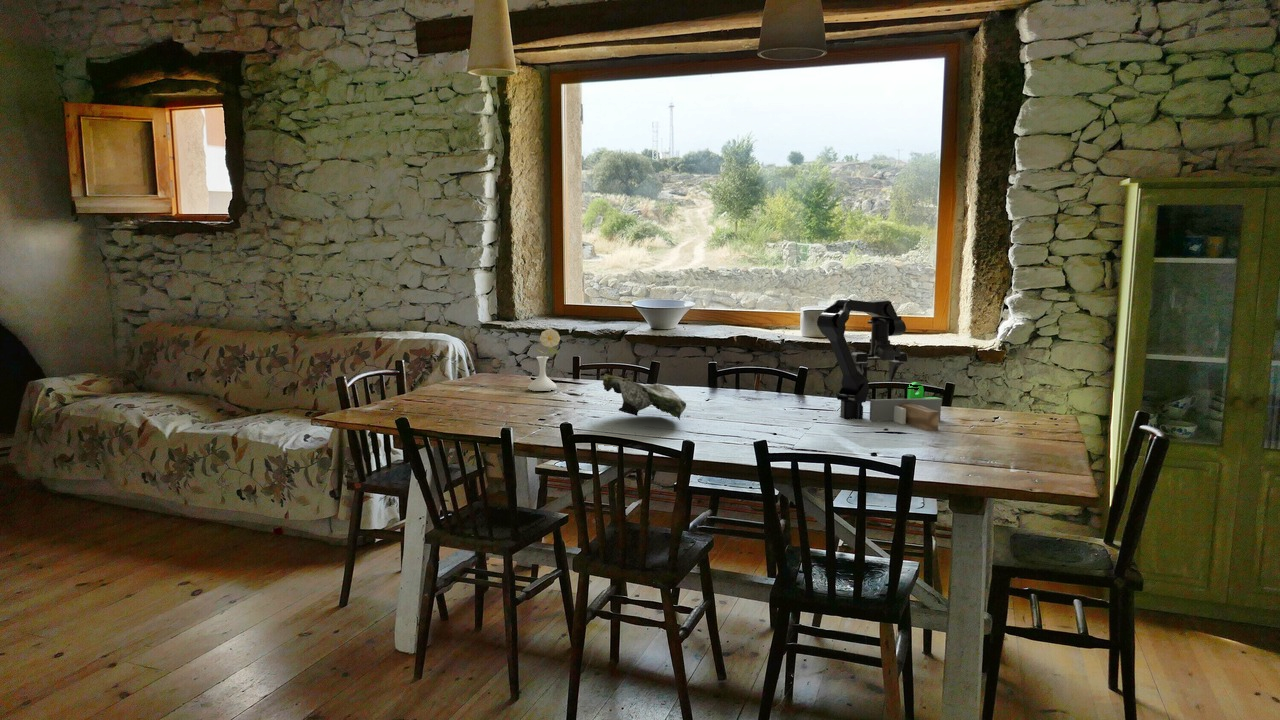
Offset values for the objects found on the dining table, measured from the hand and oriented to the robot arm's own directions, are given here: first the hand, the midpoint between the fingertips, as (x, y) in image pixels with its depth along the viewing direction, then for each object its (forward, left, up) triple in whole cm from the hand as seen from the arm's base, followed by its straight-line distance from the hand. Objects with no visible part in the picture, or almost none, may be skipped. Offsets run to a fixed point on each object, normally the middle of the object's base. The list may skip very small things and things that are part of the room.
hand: (878, 382), depth 298 cm
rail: (+4, -22, -11) cm, 25 cm away
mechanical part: (+27, +18, -12) cm, 35 cm away
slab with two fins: (+4, -16, -11) cm, 20 cm away
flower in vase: (-111, +63, -11) cm, 128 cm away
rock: (-84, -2, -10) cm, 85 cm away
